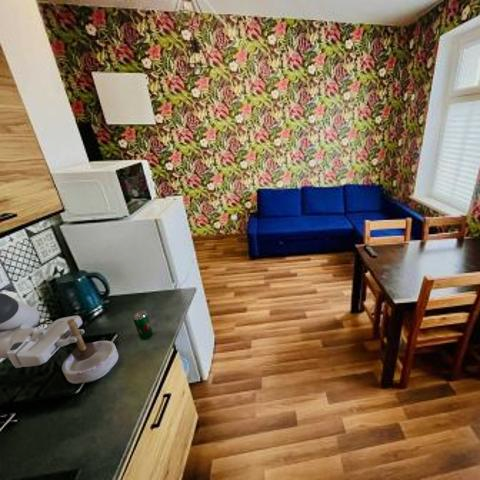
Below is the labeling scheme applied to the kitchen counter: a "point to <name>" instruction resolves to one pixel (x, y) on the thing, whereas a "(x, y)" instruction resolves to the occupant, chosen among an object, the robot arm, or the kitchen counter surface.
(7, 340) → the robot arm
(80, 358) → the toilet plunger
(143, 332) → the soda can
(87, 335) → the kitchen counter surface
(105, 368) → the paper bowls
